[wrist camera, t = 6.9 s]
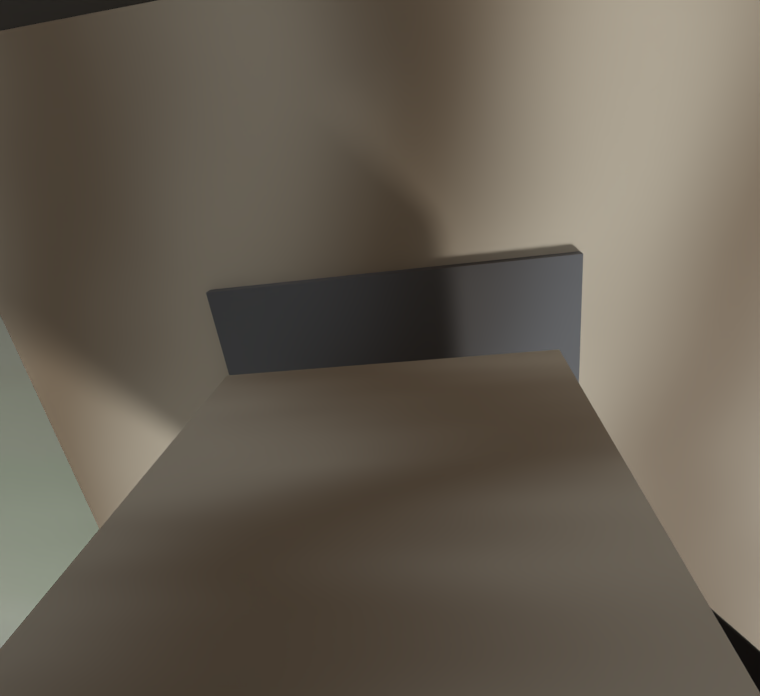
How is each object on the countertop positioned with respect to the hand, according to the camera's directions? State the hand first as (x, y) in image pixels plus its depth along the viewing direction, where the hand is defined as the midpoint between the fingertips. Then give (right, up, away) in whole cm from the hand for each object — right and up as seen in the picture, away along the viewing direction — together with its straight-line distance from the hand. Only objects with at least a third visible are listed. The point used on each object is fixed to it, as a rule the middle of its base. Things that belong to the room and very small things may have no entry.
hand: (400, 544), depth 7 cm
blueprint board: (0, +2, +4) cm, 4 cm away
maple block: (0, 0, +1) cm, 1 cm away
